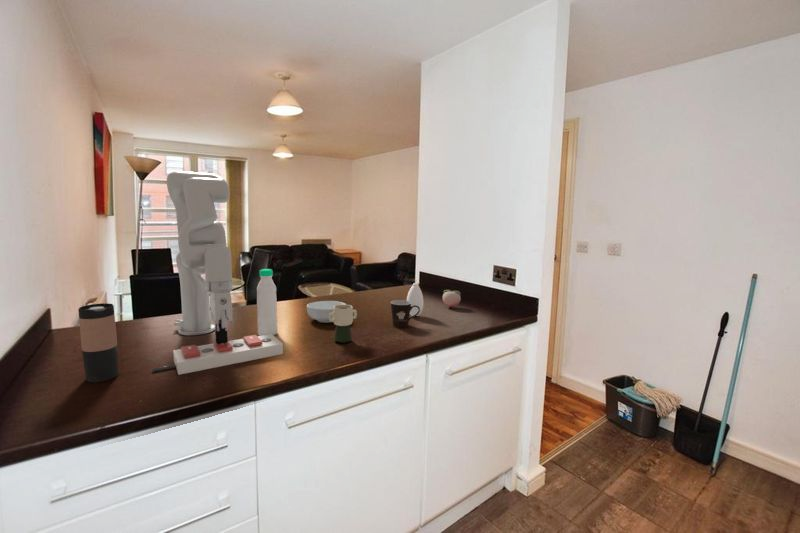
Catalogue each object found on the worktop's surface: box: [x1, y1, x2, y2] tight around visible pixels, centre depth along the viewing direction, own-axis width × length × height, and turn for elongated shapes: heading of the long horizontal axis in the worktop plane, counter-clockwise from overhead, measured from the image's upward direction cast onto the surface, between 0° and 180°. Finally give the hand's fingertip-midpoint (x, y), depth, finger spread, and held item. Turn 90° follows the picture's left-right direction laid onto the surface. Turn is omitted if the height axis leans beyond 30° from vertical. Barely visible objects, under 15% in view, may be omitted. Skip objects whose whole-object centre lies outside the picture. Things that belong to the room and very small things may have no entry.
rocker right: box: [242, 334, 262, 347], centre depth 124 cm, size 4×8×1 cm, turn 36°
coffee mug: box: [390, 299, 420, 329], centre depth 158 cm, size 12×9×10 cm
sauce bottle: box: [406, 278, 424, 317], centre depth 173 cm, size 8×8×18 cm
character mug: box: [329, 304, 358, 343], centre depth 137 cm, size 11×7×13 cm, turn 122°
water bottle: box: [256, 268, 278, 336], centre depth 142 cm, size 7×7×25 cm
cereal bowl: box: [306, 300, 347, 324], centre depth 164 cm, size 17×17×7 cm
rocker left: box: [180, 344, 200, 358], centre depth 114 cm, size 4×8×1 cm, turn 36°
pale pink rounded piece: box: [442, 289, 462, 309], centre depth 191 cm, size 9×8×10 cm
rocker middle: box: [213, 341, 233, 352], centre depth 119 cm, size 4×8×1 cm, turn 36°
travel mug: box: [77, 302, 120, 383], centre depth 103 cm, size 8×8×20 cm
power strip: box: [151, 334, 284, 376], centre depth 119 cm, size 36×12×4 cm, turn 126°
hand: (221, 342), depth 120 cm, fingers closed
